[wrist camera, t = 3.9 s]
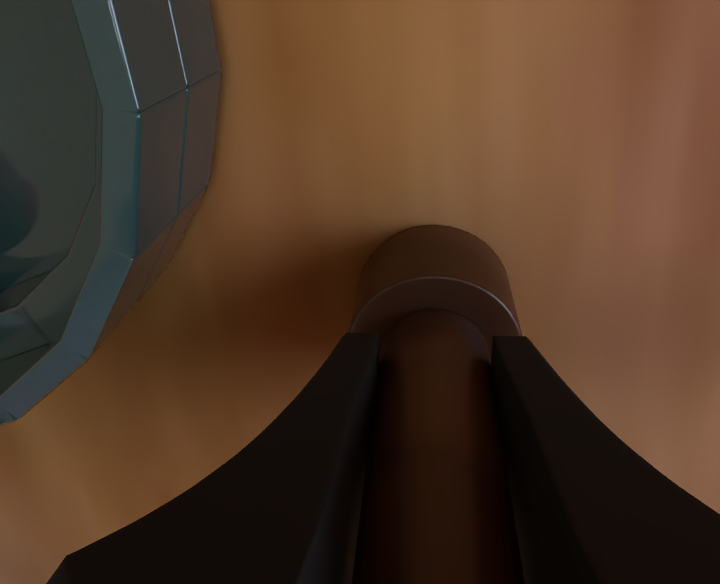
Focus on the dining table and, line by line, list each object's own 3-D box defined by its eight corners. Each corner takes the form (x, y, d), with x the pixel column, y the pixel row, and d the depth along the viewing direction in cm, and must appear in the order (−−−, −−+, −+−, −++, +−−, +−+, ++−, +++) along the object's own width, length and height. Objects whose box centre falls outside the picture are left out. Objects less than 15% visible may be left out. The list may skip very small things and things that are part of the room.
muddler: (389, 370, 16) (331, 993, 6) (336, 252, 14) (153, 831, 5) (525, 333, 15) (701, 999, 5) (483, 203, 13) (622, 802, 4)
